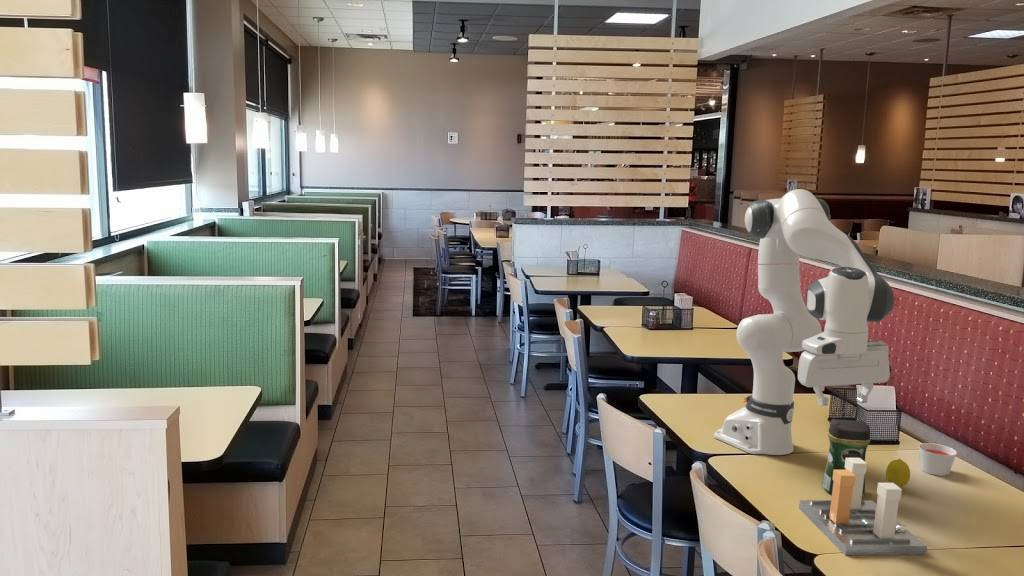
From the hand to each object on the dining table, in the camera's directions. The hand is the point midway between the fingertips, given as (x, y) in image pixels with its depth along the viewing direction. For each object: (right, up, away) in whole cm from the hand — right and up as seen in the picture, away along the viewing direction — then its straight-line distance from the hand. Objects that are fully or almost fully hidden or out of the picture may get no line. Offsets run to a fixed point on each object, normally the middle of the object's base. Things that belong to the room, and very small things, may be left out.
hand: (842, 403), depth 175 cm
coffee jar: (+10, -26, +24) cm, 37 cm away
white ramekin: (+42, -24, +40) cm, 63 cm away
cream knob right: (+7, -28, -3) cm, 29 cm away
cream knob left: (+6, -26, +10) cm, 28 cm away
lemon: (+25, -26, +27) cm, 45 cm away
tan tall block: (0, -27, +3) cm, 27 cm away
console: (+5, -29, +4) cm, 30 cm away
